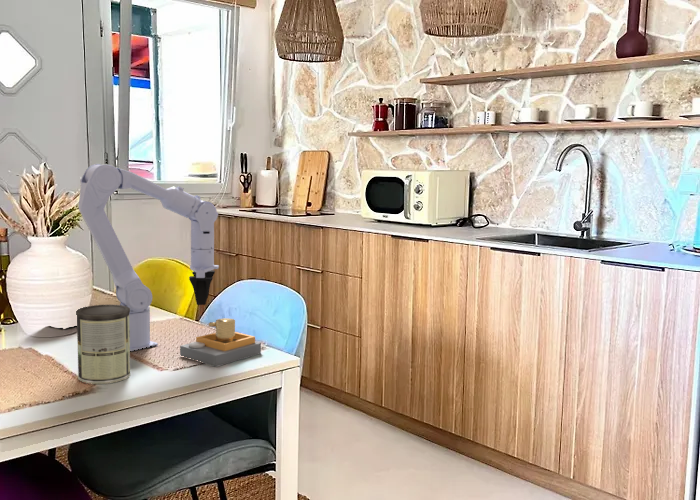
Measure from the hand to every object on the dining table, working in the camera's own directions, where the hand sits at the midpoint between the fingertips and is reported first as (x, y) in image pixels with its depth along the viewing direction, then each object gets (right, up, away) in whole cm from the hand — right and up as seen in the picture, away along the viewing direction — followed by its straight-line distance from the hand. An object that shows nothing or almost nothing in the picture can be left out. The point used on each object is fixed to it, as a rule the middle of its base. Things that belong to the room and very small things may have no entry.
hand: (202, 301), depth 168 cm
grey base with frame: (+7, -11, -14) cm, 19 cm away
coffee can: (-13, -13, -31) cm, 36 cm away
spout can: (+8, -11, -13) cm, 19 cm away
